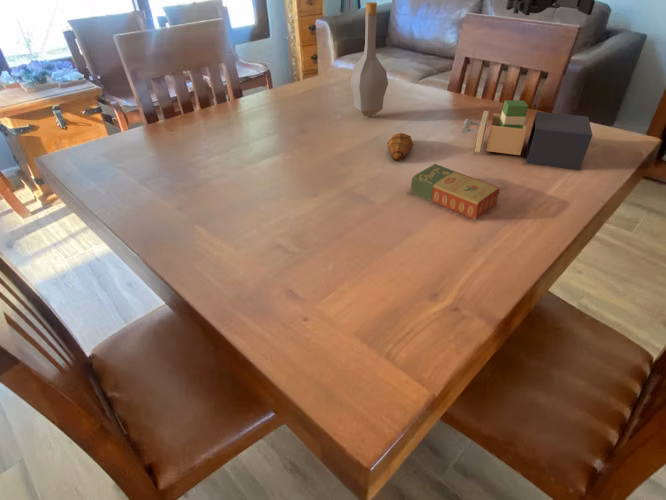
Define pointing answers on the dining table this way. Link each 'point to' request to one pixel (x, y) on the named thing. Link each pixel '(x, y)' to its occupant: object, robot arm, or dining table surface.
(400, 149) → the croissant
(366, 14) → the bottle
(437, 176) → the carton
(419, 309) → the dining table surface
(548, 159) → the cabinet
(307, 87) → the dining table surface
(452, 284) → the dining table surface
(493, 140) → the drawer
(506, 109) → the block
